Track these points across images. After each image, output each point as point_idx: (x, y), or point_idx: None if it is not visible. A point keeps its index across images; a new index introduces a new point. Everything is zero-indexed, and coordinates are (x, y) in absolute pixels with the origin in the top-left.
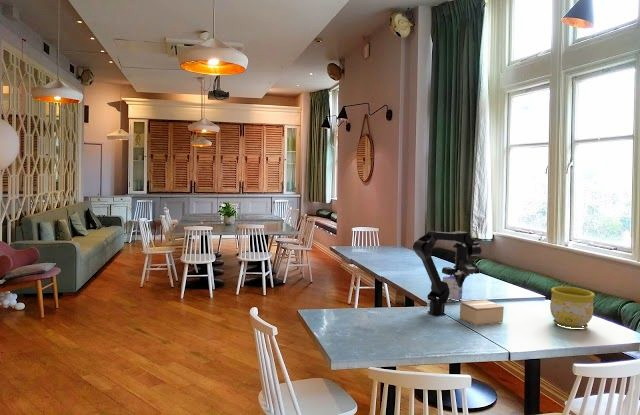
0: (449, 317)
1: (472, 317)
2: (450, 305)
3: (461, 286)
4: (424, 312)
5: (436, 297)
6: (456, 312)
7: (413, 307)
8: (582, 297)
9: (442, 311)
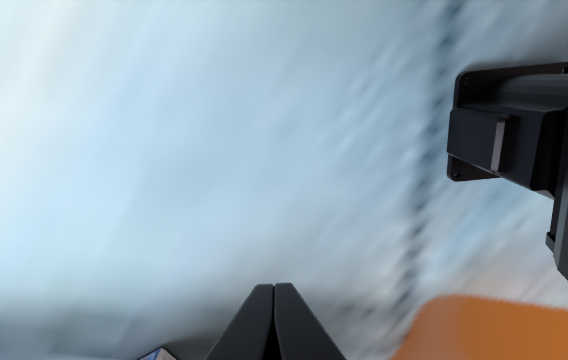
0: (469, 3)
1: None
2: None
3: (254, 294)
4: None
5: (554, 242)
6: (316, 128)
7: (541, 289)
8: None
9: (495, 91)
